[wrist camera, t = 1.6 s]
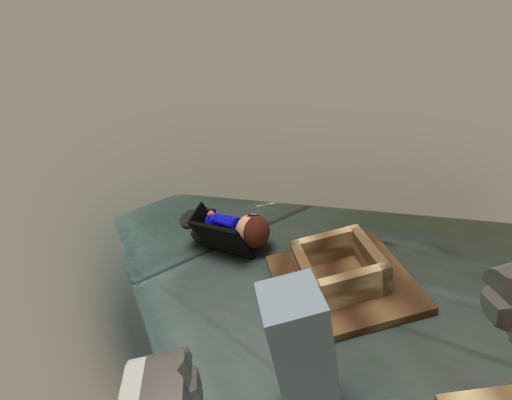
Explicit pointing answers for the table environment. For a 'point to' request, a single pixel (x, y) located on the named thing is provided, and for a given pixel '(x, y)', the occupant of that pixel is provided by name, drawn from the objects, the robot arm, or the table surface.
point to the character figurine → (226, 230)
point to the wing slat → (479, 394)
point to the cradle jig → (356, 280)
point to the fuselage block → (299, 336)
